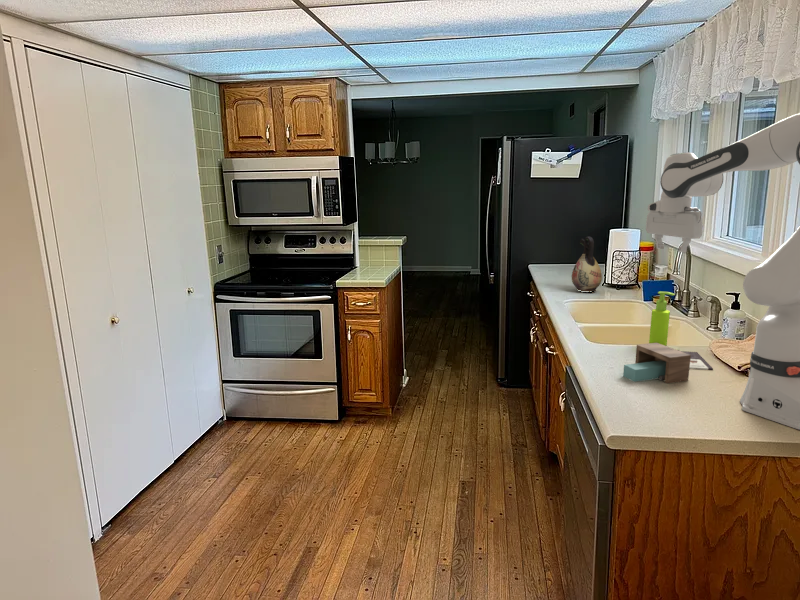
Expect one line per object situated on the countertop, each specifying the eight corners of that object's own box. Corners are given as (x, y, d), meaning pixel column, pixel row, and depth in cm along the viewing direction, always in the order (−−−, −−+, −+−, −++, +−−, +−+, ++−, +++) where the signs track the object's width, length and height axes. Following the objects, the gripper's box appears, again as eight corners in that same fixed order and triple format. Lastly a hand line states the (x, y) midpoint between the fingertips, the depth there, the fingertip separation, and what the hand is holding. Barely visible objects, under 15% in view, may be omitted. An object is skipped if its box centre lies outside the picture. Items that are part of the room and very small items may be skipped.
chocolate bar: (697, 352, 198) (712, 368, 181) (696, 354, 198) (712, 371, 181) (669, 350, 200) (682, 366, 183) (668, 353, 200) (682, 369, 183)
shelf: (688, 380, 172) (690, 355, 170) (667, 383, 170) (669, 357, 168) (654, 366, 185) (656, 342, 183) (634, 368, 183) (636, 344, 181)
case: (660, 372, 180) (661, 360, 179) (672, 377, 175) (673, 365, 175) (623, 377, 176) (624, 364, 175) (634, 382, 171) (635, 369, 170)
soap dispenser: (667, 349, 203) (673, 294, 199) (647, 346, 207) (652, 292, 203) (671, 345, 208) (676, 291, 203) (650, 342, 211) (655, 289, 207)
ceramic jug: (566, 289, 313) (569, 234, 307) (594, 288, 314) (597, 234, 308) (577, 295, 297) (581, 237, 291) (606, 294, 298) (611, 237, 291)
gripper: (710, 207, 170) (705, 254, 173) (659, 204, 189) (656, 246, 192) (693, 208, 168) (688, 254, 171) (644, 205, 187) (640, 247, 190)
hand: (670, 250), depth 181 cm, fingers open, 8 cm apart
